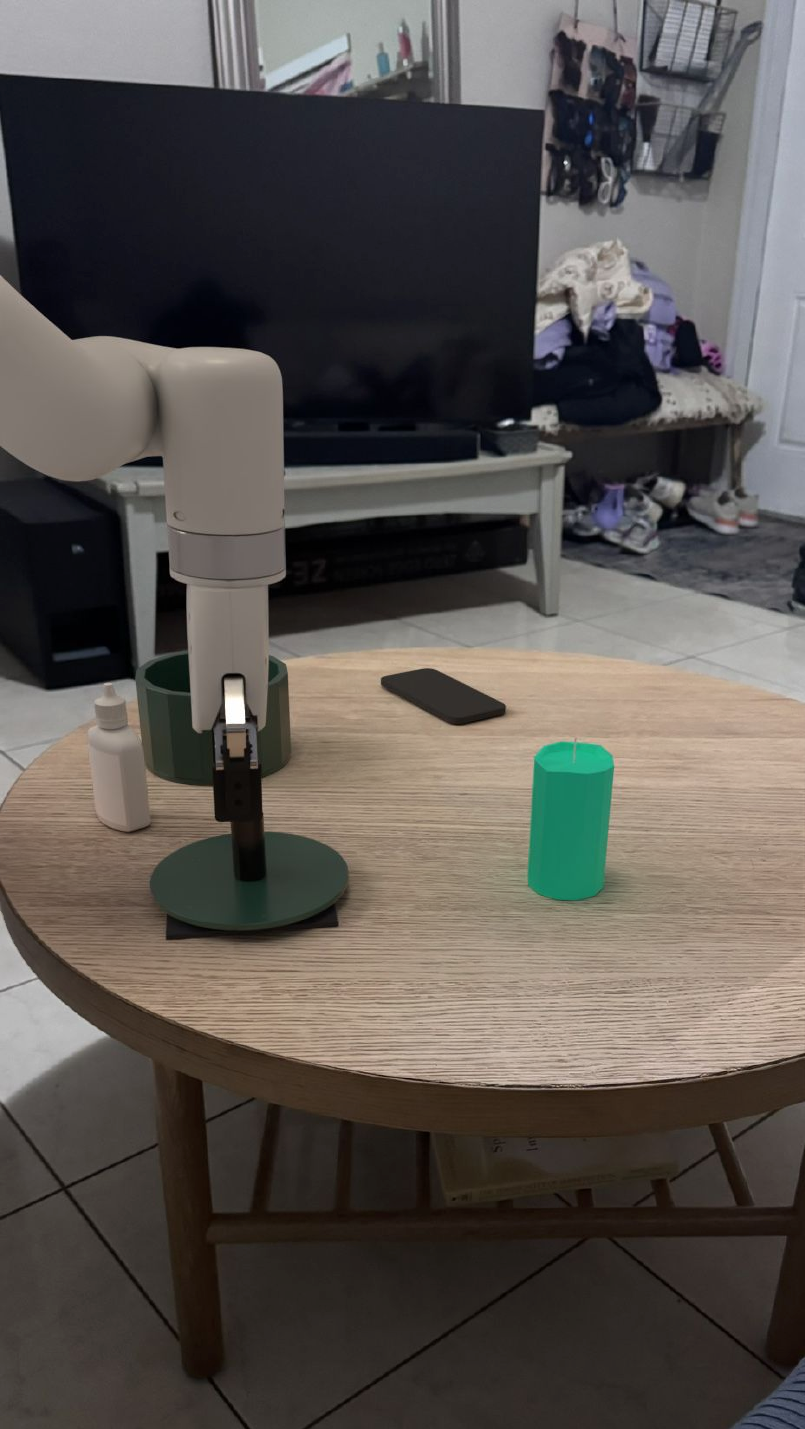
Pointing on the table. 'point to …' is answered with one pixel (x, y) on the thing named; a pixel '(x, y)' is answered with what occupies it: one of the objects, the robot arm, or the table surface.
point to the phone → (443, 695)
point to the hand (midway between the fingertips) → (236, 790)
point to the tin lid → (249, 879)
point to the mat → (185, 930)
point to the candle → (570, 820)
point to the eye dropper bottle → (117, 766)
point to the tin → (190, 753)
